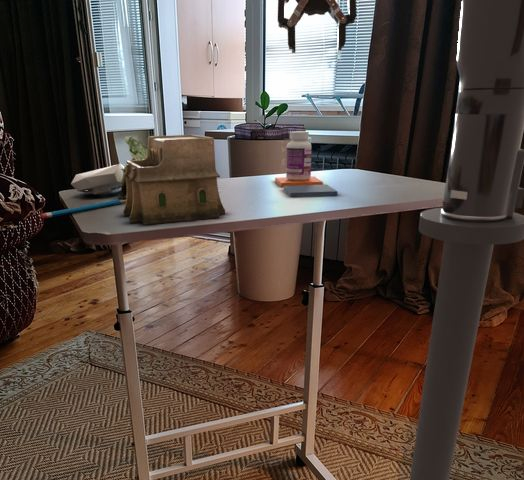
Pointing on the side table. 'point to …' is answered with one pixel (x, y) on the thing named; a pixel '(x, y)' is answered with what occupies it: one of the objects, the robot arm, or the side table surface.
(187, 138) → the miniature house
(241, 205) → the side table surface
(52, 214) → the pencil
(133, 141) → the terrain
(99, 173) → the turret
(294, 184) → the terracotta pad
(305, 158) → the pill bottle
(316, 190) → the slate pad
